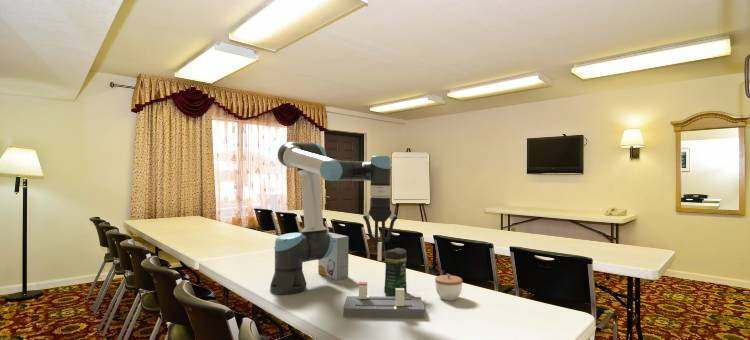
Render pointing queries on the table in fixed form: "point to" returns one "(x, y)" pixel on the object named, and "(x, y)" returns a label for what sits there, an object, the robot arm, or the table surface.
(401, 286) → the coffee jar
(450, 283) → the lidded jar
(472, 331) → the table surface
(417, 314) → the console
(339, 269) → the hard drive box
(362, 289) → the block
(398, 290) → the fader front
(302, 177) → the robot arm
